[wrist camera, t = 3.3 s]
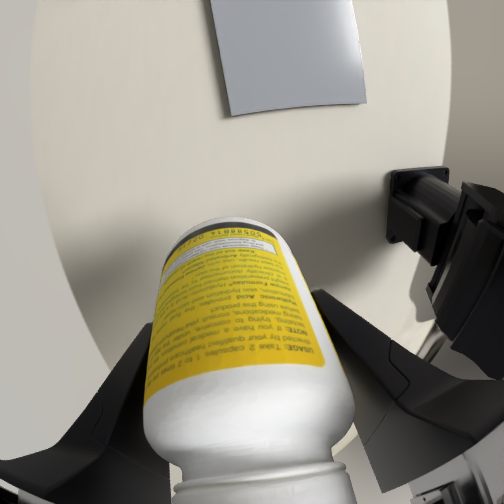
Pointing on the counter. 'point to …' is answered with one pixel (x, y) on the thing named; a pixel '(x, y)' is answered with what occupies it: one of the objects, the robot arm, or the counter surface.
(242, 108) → the slate coaster
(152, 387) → the supplement bottle
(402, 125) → the counter surface
